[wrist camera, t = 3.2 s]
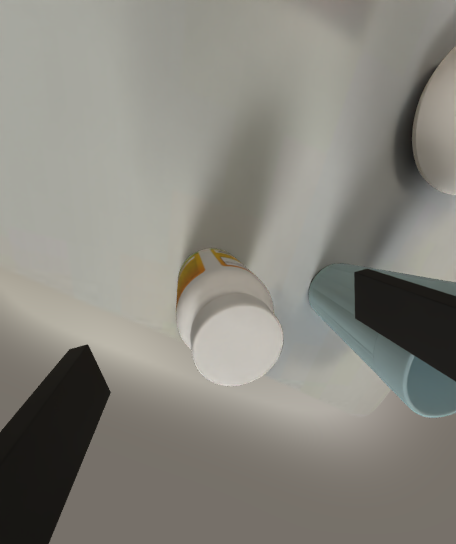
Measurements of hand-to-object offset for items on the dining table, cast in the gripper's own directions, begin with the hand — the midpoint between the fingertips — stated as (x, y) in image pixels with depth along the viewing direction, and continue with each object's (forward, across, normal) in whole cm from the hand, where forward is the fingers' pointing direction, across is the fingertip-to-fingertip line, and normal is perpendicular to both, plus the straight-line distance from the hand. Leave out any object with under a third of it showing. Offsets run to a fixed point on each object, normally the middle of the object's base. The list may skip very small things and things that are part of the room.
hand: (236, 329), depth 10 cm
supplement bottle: (+8, 0, 0) cm, 8 cm away
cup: (+8, +11, -4) cm, 15 cm away
